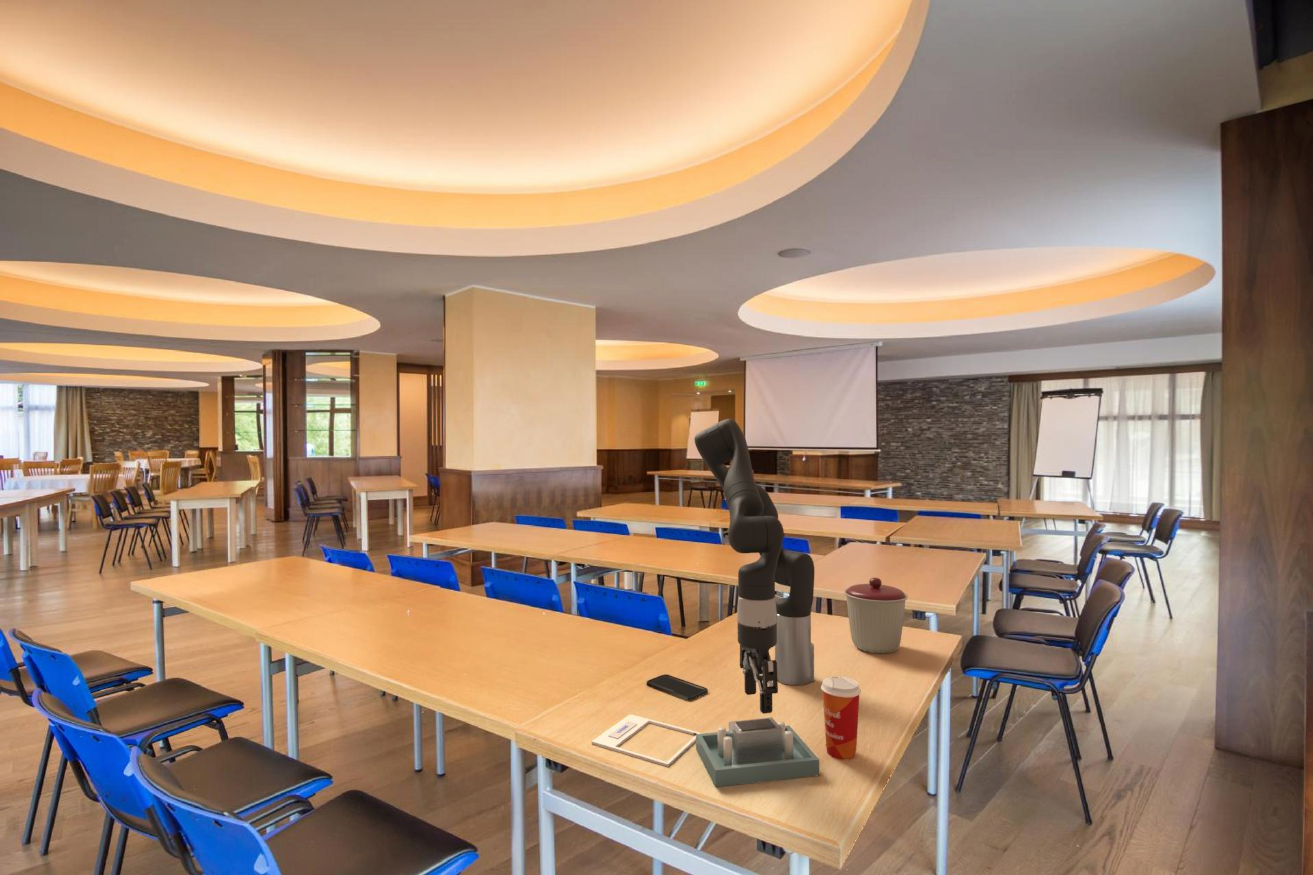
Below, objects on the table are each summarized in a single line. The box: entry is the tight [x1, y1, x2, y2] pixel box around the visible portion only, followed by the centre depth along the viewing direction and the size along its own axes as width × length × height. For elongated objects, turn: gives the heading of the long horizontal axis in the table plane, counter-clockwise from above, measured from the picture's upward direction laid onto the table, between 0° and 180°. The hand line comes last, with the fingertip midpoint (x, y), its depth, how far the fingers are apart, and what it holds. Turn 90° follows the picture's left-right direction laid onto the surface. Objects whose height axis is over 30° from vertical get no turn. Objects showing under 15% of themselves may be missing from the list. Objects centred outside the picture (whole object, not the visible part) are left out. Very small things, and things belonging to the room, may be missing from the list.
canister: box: [843, 577, 909, 655], centre depth 186 cm, size 18×18×21 cm
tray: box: [695, 721, 820, 788], centre depth 121 cm, size 20×14×6 cm
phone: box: [646, 674, 709, 702], centre depth 156 cm, size 8×1×15 cm
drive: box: [728, 717, 782, 765], centre depth 121 cm, size 9×5×6 cm, turn 102°
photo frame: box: [591, 713, 703, 768], centre depth 130 cm, size 15×1×18 cm
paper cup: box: [820, 676, 862, 761], centre depth 124 cm, size 8×8×14 cm
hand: (758, 702), depth 121 cm, fingers open, 8 cm apart
